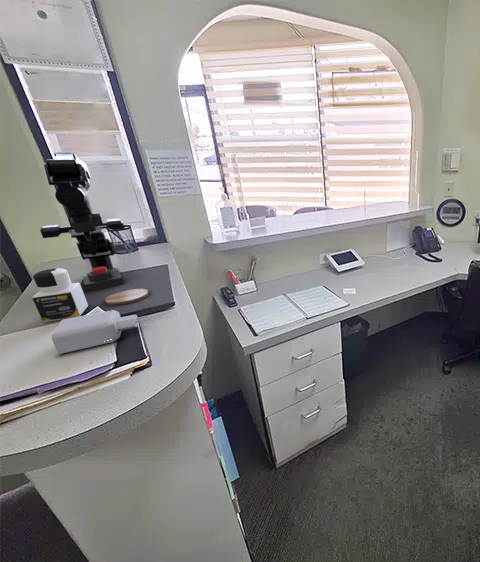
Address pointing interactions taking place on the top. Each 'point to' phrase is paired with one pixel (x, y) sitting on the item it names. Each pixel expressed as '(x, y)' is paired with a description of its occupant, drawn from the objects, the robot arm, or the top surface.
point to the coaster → (126, 296)
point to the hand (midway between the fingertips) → (94, 254)
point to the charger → (91, 330)
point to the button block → (102, 280)
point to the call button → (99, 270)
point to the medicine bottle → (58, 295)
